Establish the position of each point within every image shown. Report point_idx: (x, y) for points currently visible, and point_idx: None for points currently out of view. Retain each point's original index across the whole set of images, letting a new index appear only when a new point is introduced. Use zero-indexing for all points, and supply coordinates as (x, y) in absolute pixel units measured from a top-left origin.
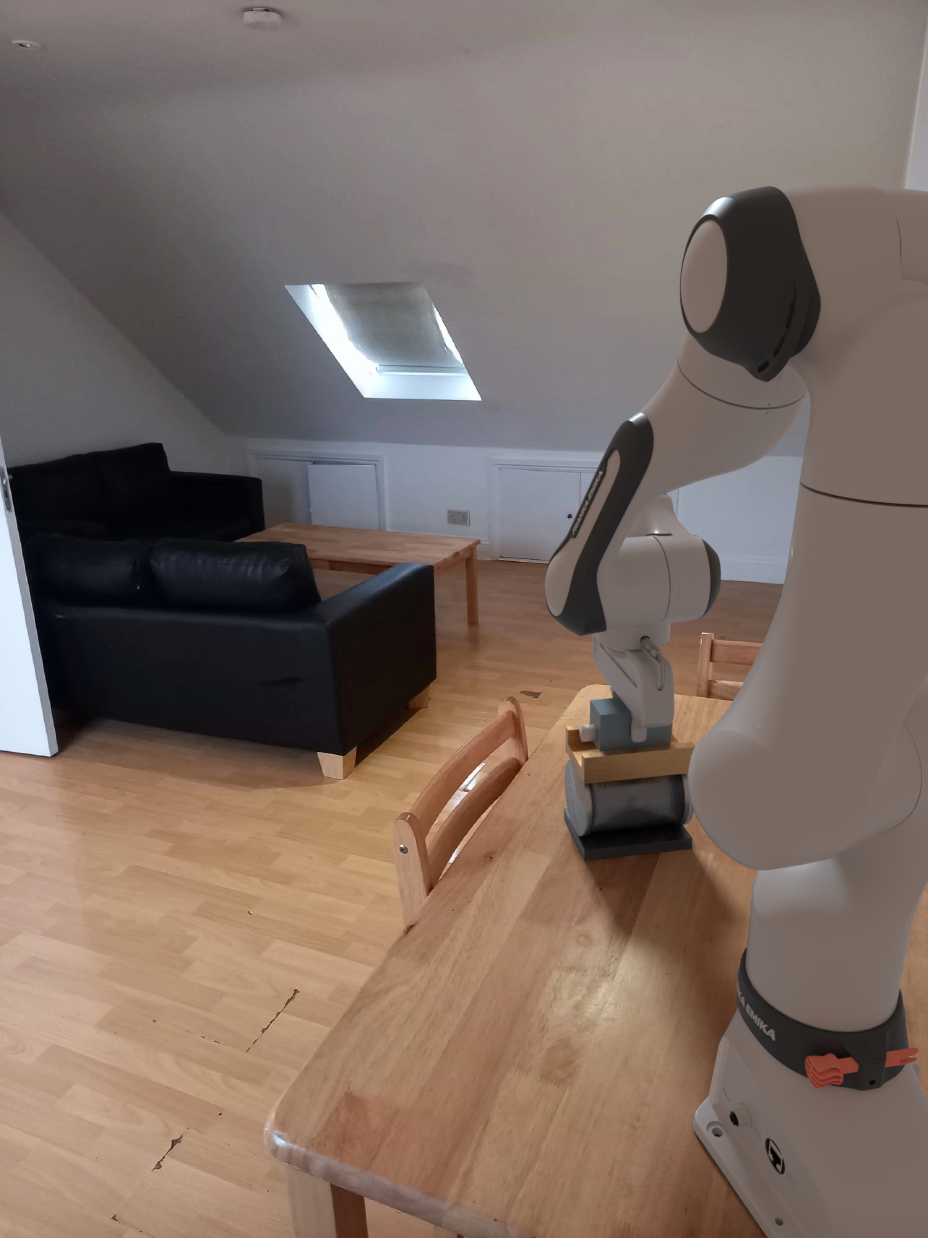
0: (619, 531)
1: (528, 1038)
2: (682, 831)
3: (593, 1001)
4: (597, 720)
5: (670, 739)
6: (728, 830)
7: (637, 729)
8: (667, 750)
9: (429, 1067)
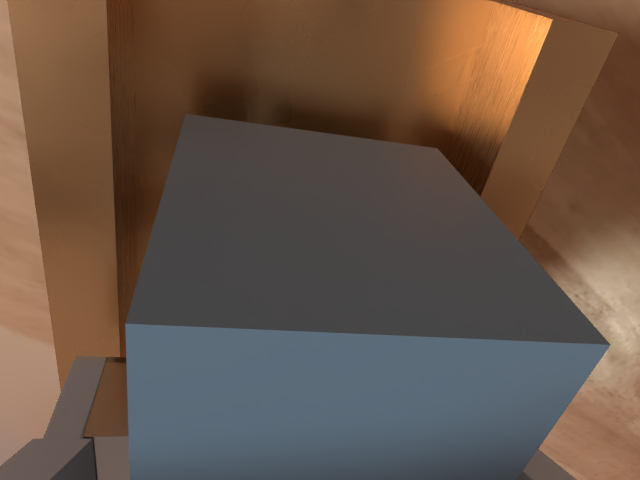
0: None
1: (610, 407)
2: None
3: (621, 340)
4: None
5: (450, 164)
6: None
7: None
8: (521, 224)
9: (574, 474)
